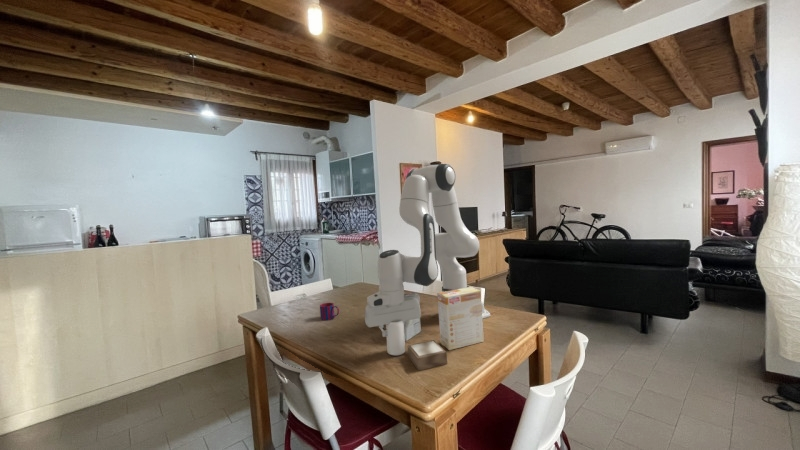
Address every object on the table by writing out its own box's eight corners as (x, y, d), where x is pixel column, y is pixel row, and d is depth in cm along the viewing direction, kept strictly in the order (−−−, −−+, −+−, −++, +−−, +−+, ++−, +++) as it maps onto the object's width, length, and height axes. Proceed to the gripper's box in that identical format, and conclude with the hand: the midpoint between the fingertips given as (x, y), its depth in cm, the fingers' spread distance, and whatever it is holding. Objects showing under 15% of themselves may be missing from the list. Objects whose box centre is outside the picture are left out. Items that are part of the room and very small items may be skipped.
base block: (434, 351, 110) (433, 339, 109) (447, 363, 100) (446, 351, 100) (408, 356, 107) (407, 344, 106) (418, 370, 97) (417, 357, 97)
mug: (327, 315, 157) (326, 302, 156) (342, 317, 152) (341, 303, 152) (317, 319, 151) (316, 306, 151) (333, 322, 146) (332, 307, 146)
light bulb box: (408, 328, 132) (406, 304, 131) (421, 331, 128) (419, 306, 127) (393, 338, 123) (391, 311, 123) (407, 341, 119) (405, 314, 119)
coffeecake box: (473, 335, 121) (470, 286, 120) (484, 342, 114) (481, 290, 113) (439, 343, 116) (436, 292, 115) (449, 350, 109) (445, 296, 108)
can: (403, 356, 107) (401, 322, 106) (385, 355, 108) (383, 322, 108) (406, 348, 113) (405, 316, 113) (389, 347, 114) (388, 315, 114)
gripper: (416, 290, 116) (418, 326, 116) (362, 298, 110) (365, 336, 110) (422, 294, 110) (424, 332, 110) (365, 303, 104) (368, 343, 104)
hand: (394, 334), depth 110 cm, fingers closed on can, 6 cm apart
